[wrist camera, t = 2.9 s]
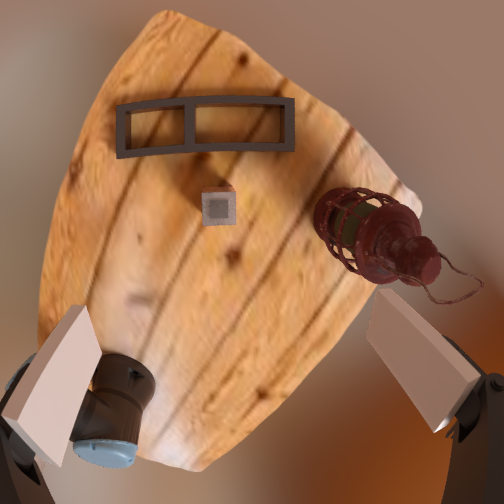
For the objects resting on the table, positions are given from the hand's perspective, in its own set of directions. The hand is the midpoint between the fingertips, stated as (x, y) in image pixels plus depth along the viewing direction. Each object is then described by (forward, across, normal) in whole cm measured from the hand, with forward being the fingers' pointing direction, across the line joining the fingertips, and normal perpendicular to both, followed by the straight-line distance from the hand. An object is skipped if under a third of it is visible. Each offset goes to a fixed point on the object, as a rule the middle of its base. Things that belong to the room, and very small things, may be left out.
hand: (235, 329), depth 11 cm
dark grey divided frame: (+34, -2, +12) cm, 36 cm away
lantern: (+34, +21, -3) cm, 40 cm away
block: (+34, 0, 0) cm, 34 cm away
